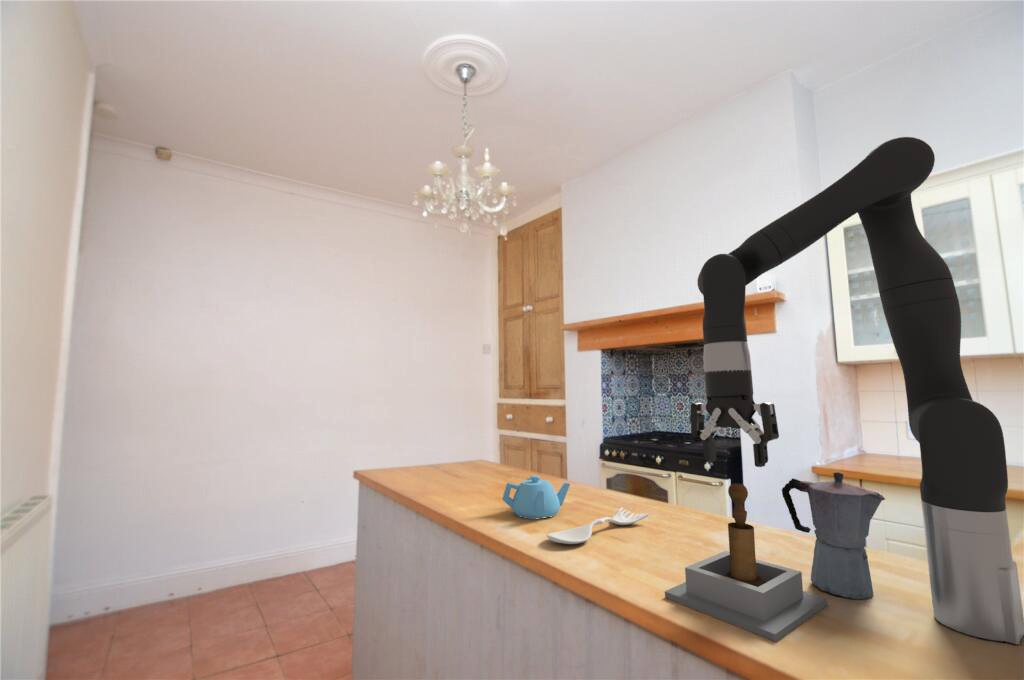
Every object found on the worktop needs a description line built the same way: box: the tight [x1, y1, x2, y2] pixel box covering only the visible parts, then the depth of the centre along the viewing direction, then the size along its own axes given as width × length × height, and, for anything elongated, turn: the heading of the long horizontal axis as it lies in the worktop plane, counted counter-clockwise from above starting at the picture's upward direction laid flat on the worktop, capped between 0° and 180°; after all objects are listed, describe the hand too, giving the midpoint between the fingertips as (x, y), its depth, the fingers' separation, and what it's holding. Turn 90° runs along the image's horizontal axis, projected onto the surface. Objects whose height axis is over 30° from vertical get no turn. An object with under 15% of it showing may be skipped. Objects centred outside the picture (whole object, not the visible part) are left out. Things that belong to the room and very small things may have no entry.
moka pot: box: [781, 471, 886, 600], centre depth 83 cm, size 10×15×20 cm, turn 54°
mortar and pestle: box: [724, 482, 765, 587], centre depth 78 cm, size 7×6×18 cm
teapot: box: [502, 474, 571, 518], centre depth 135 cm, size 15×15×11 cm
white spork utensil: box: [546, 507, 649, 545], centre depth 116 cm, size 9×32×4 cm, turn 130°
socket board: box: [664, 550, 828, 642], centre depth 78 cm, size 18×18×5 cm
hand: (734, 463), depth 80 cm, fingers open, 8 cm apart
